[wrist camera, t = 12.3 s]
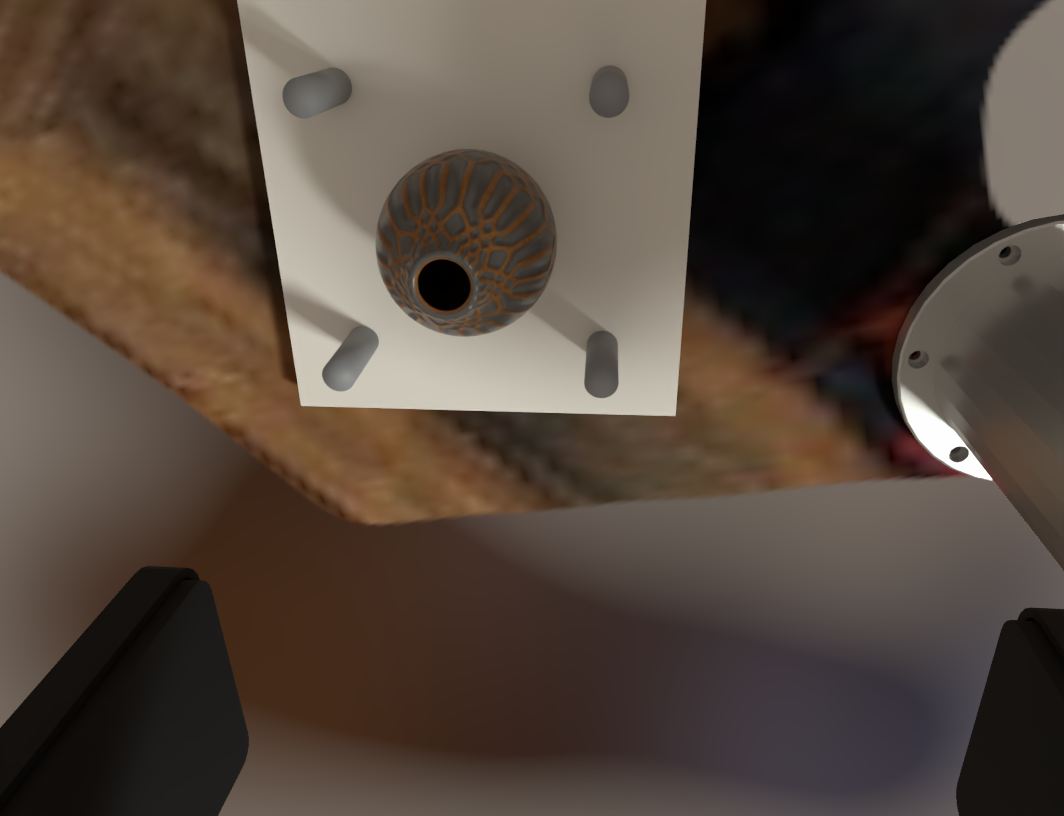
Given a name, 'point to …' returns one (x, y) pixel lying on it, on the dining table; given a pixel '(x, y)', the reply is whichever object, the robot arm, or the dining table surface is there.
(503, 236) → the vase
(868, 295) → the dining table surface
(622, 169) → the stand
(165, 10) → the dining table surface
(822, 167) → the dining table surface
